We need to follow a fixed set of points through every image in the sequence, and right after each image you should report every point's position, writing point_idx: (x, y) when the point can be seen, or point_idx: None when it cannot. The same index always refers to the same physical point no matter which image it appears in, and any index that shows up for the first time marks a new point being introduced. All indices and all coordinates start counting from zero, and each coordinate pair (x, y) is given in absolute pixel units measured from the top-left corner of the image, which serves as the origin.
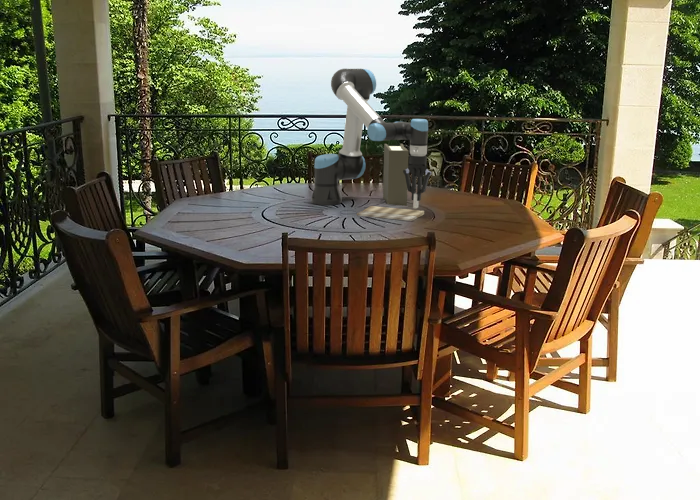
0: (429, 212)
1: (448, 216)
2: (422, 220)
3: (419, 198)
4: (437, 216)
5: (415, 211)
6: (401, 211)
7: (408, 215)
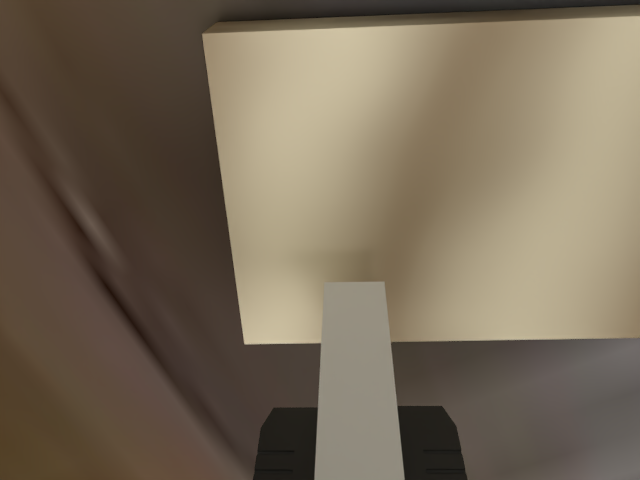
0: None
1: (15, 393)
2: (129, 24)
3: (264, 455)
4: (111, 349)
5: (353, 279)
6: (577, 201)
7: (387, 23)
